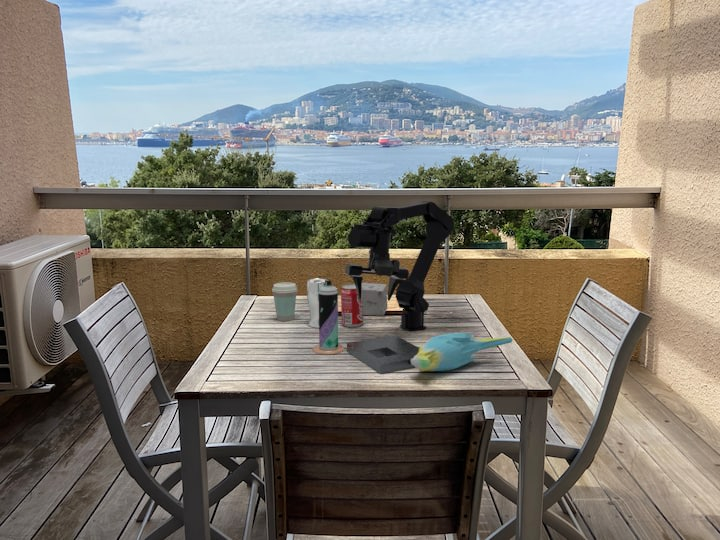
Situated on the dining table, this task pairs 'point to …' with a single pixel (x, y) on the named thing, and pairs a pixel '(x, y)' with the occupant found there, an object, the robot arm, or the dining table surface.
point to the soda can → (351, 306)
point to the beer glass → (314, 300)
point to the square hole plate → (384, 353)
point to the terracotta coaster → (319, 351)
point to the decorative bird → (451, 351)
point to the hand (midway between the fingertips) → (374, 299)
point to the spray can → (328, 317)
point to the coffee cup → (285, 300)
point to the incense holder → (374, 299)
